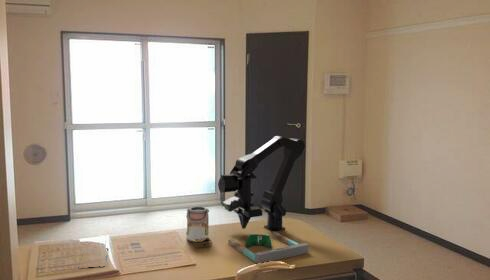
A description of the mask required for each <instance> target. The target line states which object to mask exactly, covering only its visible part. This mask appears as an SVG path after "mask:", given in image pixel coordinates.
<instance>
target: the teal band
mask: <svg viewBox="0 0 490 280" xmlns="http://www.w3.org/2000/svg"><path fill="white" fill-rule="evenodd" d="M297 244H299V242H296V241H294V240H292V239H291V240H289V241H288V244H287V246H288V245H289V246H292V245H297ZM242 254H243V255H244V256H246V257H247V258H248V259H250V260H252V261H253V262H255V253H254V252H252V251H251V250H249V249H248V248H246V249H243V253H242Z"/></svg>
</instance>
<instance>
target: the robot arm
mask: <svg viewBox="0 0 490 280" xmlns="http://www.w3.org/2000/svg"><path fill="white" fill-rule="evenodd" d="M281 147H283V159H282V161H281V163H280V166H279V169H278V171H277V174H276V176H275V178H274V180H273V183H272V186H271V187H270V189H268V190H264V191H263V195H262V197H261V198H260V200H261V201H260V205H261V207H262V208H263V209H261V208H260V207H259V206H254V202H252V197H253V196H254V192H252V190H253V189H252V185H253V184H252V182H253V181H252V180H254V179H257V176H256V175H255V174H254V171H256V169H258V167H259V164H260V163H261V162H262V161H264V160H265V159H266V158H268V157H269V156H270V155H272V154H274V152H276V151H277V150H279V149H280V148H281ZM305 149H306V143H305V141H304V140H302V139H299V138H293V137H290V138H287V137H284V136H280V135H275V136H273V137H272V138H271V140H269V141H268V142H266V143H265V144H263V145H262V146H260V147H259V148H258V149H256V150H255V151H253V152H252V153H249V154H246V155H243V156H241V157H239V158H237V159H236V160H235V164H234V166H233V168H232V169H231V171H230V172H229V174H221V175H220V178H219V179H218V182H217V187H218V190H219V192H220V193H221V194H224V193H231V192H234V195H233V196H231V197H229V198H227V199H225V200H224V201H222V203H223V206H224V210H226V211H228V212H232V211H233V212H234V213H236V214H237V216H238V219H239V222H240V226H241V229H247V226H248V224H249V222H250V220H251V218H258V217H263V210H264V212H265V213H267V223H266V224H265V225H264V227H263V228H265V229H267V230H269V231H271V232H274V231H275V232H277V231H280V230H285V229H286V227H284V226H283V217H285V216H286V215H287V212H288V211H287V209H285V207H284V206H283V200H284V199H283V197H284V196H283V192H284V189H285V187H286V185H287V182H288V180H289V177H290V175H291V172H292V169H293V168H294V165H295V162H296V161H297V160H298V159H299V158H300V157H301V156H302V155H303V153H304V152H305Z"/></svg>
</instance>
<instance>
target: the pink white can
mask: <svg viewBox="0 0 490 280" xmlns="http://www.w3.org/2000/svg"><path fill="white" fill-rule="evenodd" d="M209 212H210V209H209V208H207V207H204V206H192V207H188V208H187V209H186V224H187V225H186V229H187V231H186V238H187V240H188V241H189V242H191V241H192V240H193V239H204V238H207V237H208V238H209V217H210V216H209Z"/></svg>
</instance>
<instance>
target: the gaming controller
mask: <svg viewBox="0 0 490 280" xmlns="http://www.w3.org/2000/svg"><path fill="white" fill-rule="evenodd" d="M252 245H262V246H265V247H266V248H267V249H271V248H272V240H271V237H270V234H269V233H267V232H266V233H265V234H259V233H258V234H257V233H256V234H255V233H254V232H251V233H250V234H249V236H248V237H247V239H246V243H245V246H246V247H245V248H250V247H251V246H252Z"/></svg>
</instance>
